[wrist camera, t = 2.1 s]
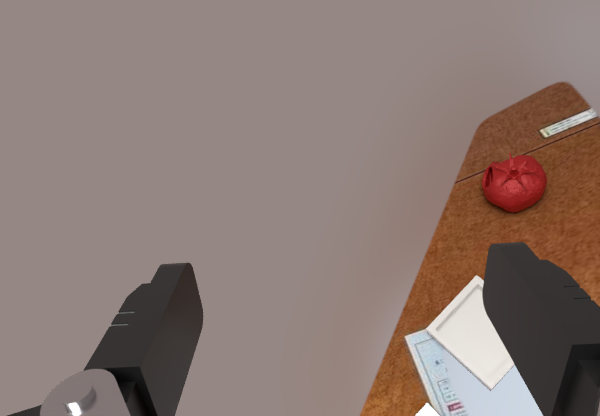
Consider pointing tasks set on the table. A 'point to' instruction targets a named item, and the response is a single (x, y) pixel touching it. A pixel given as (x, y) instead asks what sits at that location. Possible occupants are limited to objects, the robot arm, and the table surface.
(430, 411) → the socket plate
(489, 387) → the bin
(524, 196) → the pomegranate
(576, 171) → the table surface
